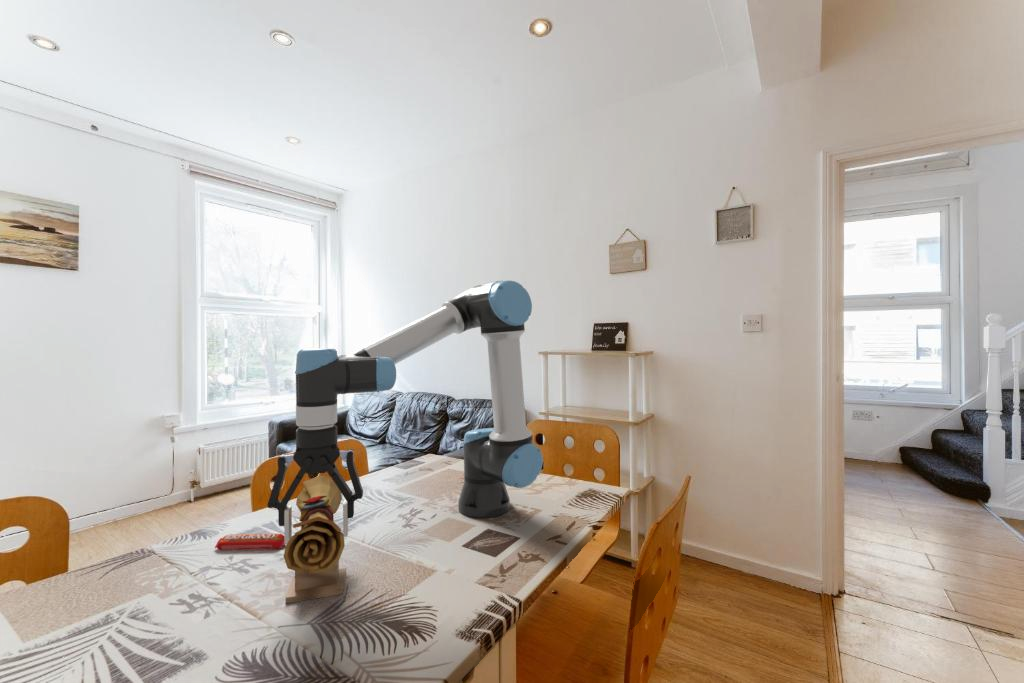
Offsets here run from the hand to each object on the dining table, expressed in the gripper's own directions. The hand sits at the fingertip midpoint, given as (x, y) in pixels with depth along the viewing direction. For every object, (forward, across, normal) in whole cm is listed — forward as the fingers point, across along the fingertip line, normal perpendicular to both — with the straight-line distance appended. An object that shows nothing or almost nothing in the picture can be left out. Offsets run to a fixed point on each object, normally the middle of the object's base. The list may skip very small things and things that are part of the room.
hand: (317, 537), depth 86 cm
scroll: (+1, 0, 0) cm, 1 cm away
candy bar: (+10, +18, -23) cm, 31 cm away
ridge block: (+10, 0, 0) cm, 10 cm away
